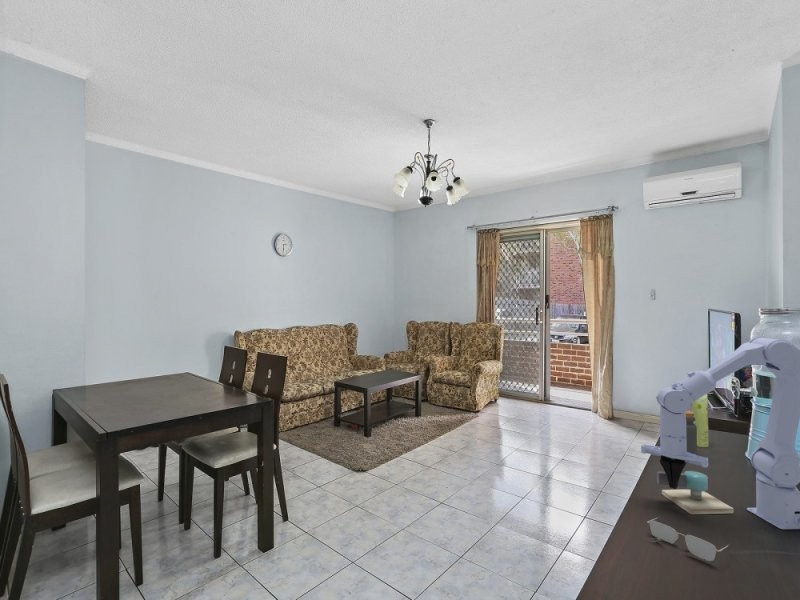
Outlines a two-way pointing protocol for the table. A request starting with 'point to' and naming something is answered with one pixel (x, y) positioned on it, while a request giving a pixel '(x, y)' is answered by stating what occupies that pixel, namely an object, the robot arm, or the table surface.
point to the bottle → (691, 433)
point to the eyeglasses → (692, 542)
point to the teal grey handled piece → (687, 480)
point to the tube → (701, 420)
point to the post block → (697, 502)
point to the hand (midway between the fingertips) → (673, 487)
